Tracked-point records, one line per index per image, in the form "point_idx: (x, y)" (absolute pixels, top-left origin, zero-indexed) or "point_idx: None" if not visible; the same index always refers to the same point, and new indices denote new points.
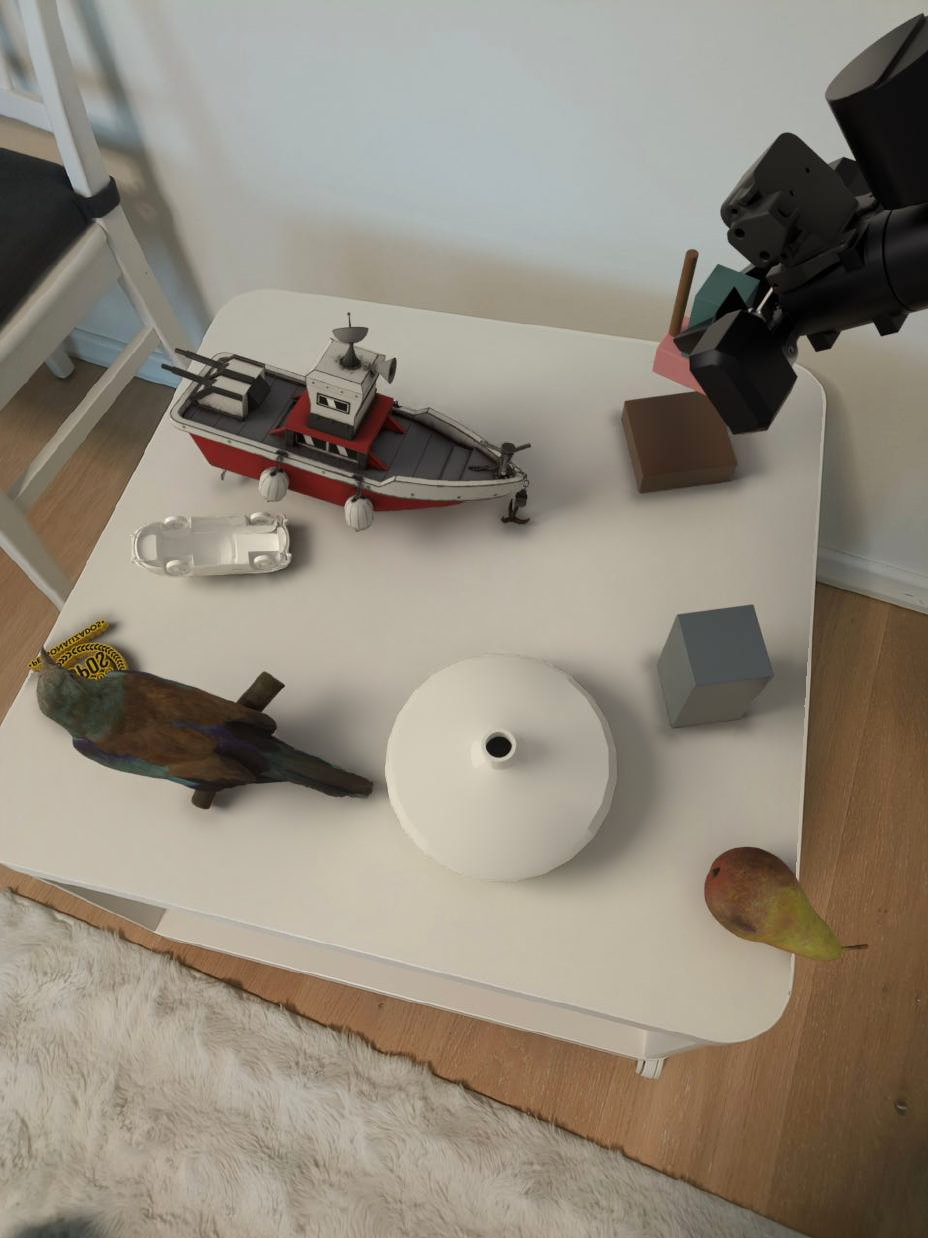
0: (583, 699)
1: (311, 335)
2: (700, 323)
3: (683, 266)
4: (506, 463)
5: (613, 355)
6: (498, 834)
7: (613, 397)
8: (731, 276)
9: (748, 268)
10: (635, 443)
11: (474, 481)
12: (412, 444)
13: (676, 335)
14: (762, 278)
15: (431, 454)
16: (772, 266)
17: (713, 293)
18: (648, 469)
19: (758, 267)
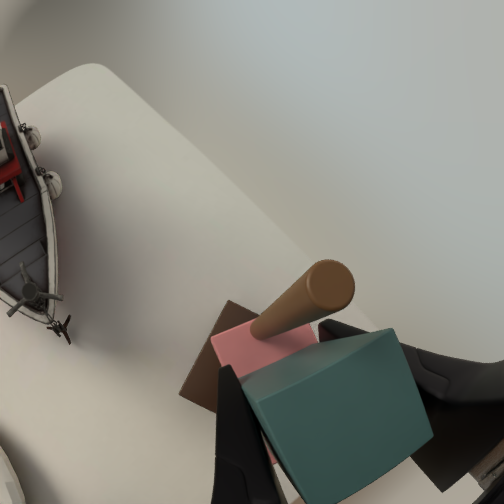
0: (9, 500)
1: (94, 92)
2: (248, 429)
3: (291, 288)
4: (18, 306)
5: (272, 236)
6: None
7: (238, 277)
8: (393, 392)
9: (438, 373)
10: (199, 355)
11: (5, 294)
12: (15, 216)
13: (229, 366)
14: (440, 422)
15: (18, 235)
16: (474, 434)
17: (309, 425)
18: (188, 391)
19: (454, 407)
